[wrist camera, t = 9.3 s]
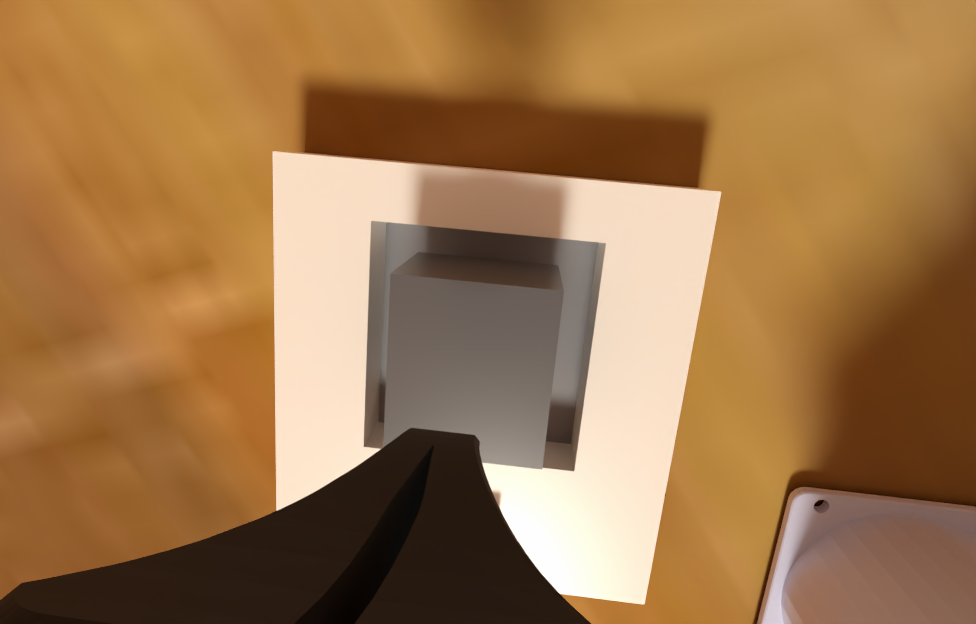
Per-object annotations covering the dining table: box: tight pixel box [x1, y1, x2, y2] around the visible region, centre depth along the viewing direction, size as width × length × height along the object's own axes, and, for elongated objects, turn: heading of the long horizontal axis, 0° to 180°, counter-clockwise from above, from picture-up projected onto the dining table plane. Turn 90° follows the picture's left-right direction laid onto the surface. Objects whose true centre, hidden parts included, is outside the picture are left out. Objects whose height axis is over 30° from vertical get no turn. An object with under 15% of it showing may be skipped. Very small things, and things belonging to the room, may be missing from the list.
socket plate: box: [273, 151, 721, 604], centre depth 19 cm, size 13×14×3 cm
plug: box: [383, 252, 564, 470], centre depth 18 cm, size 4×5×5 cm
